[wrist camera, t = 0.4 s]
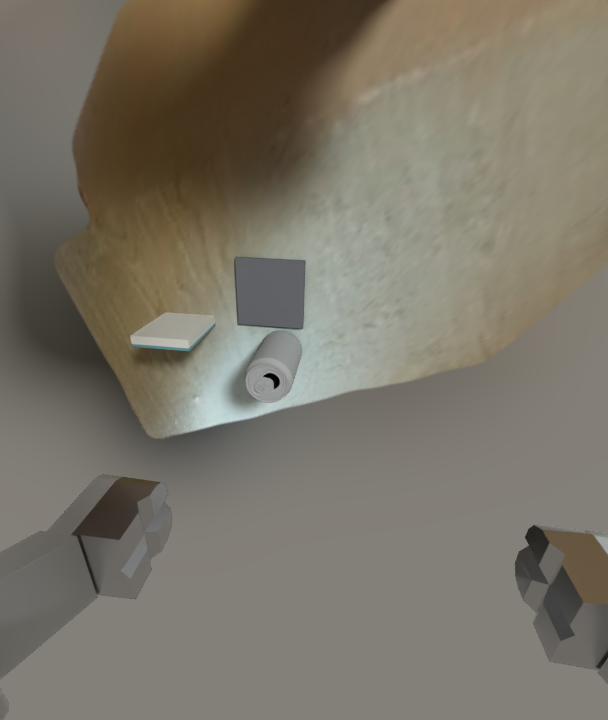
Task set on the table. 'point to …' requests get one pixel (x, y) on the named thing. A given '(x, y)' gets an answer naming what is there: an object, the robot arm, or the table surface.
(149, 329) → the tile
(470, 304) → the table surface
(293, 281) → the mat
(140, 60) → the table surface
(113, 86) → the table surface
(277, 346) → the beverage can
